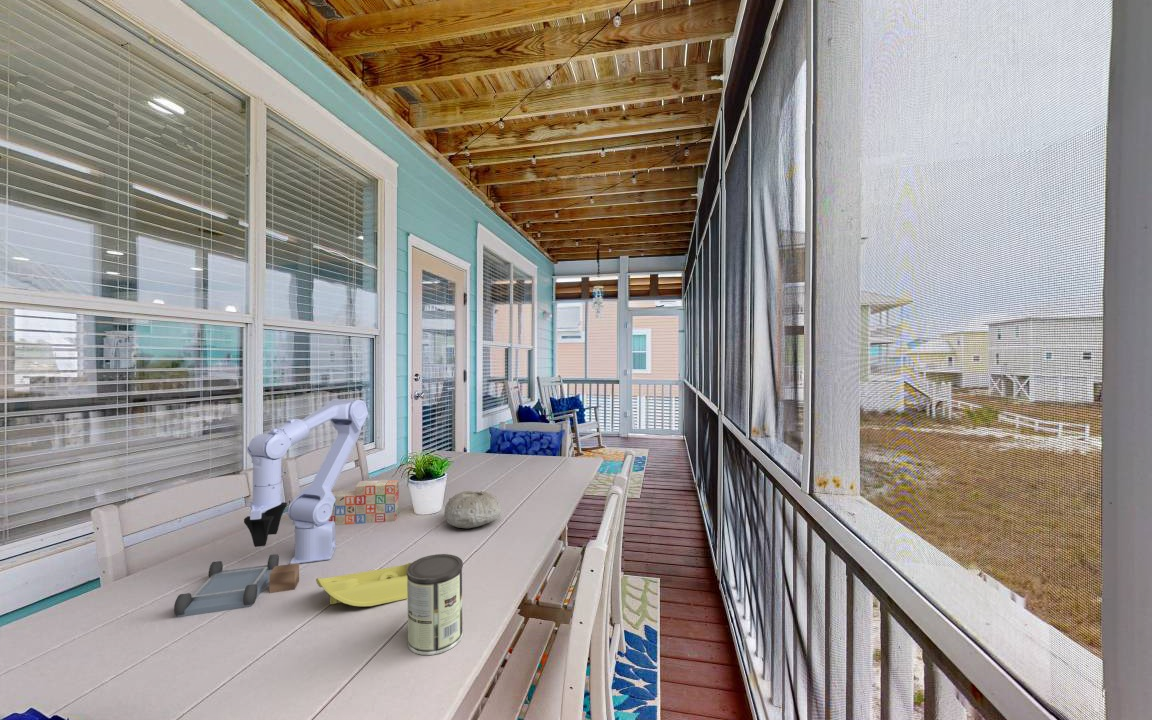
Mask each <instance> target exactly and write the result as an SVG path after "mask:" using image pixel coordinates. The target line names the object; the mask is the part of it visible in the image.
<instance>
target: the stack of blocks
mask: <svg viewBox="0 0 1152 720" xmlns="http://www.w3.org/2000/svg"><path fill="white" fill-rule="evenodd" d="M399 481H400V480H399V479H390V480H389V479H379V480H362V481H361V480H360V481H359V482H358V483H357V484H356V485H355V487H354V488H355V490H337V491H336V490H335V491H333V490H332V491H331V492H332V493H333V495H334V497H335V499H336V501H335V503H334V505H333V511H332V514H331V517H330V518H329V520H328V521H334V522H335V526H338V525H357V524H370V523H371V524H372V523H389V522H396V520H397V518H398V516H399V497H400V493H399V492H400V491H399V490H400V488H399V483H400V482H399Z"/></svg>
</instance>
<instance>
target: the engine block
mask: <svg viewBox="0 0 1152 720" xmlns="http://www.w3.org/2000/svg"><path fill="white" fill-rule="evenodd" d="M299 582H300V563H296V564H290V563H289V564H280V565H278V566H275V567H274V568H273V570H272V571H271V572H270V574H269V581H268V583H269V594H272V593H273V594H274V593H280V592H288V591H294V590H296V589H297V586H298V584H299Z"/></svg>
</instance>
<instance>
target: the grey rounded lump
mask: <svg viewBox="0 0 1152 720" xmlns="http://www.w3.org/2000/svg"><path fill="white" fill-rule="evenodd" d="M501 514H502V507H501V503H500V501H499V499H498V497H497V496H495V495H494V494H492V493H489V492H488V491H482V490H481V491H473V490H472V491H471V490H467V491H466V490H465V491H463V492H459V493H457V494H456V493H455V494H454V495H453V496H452V497H450V498H449V499H448V501H447V502H446V503H445V508H444V514H443V515H444V518H445V519H444V520H446V523H448V524H449V525H451V526H453V527H456V528H458V529H460V528H462V529H471V528H472V529H473V528H477V527H481V526H484V525H486V524H489V523H492V522H495V521H496V520H497V519H498V518H499V516H500V515H501Z"/></svg>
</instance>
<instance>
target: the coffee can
mask: <svg viewBox="0 0 1152 720" xmlns="http://www.w3.org/2000/svg"><path fill="white" fill-rule="evenodd" d="M412 562H413V563H412ZM412 562H410V563H411V564H410V565H409V566H408V568H407V592H408V598H407V647H408V649H409V650H410V652H412V653H414V654H417V655H421V656H434V655H438V654H439V655H440V654H442V653H445V652H447V651H449V650H451V649H453V648H454V647H456V646H457V645H458V644H459V643H460V641H462V639H463V635H464V631H463V566H464V563H463V560H462V559H461V557H458V556H457V555H454V554H448V553H439V554H431V555H426V556H423V557H420V558H418V559H415V561H414V560H413V561H412Z"/></svg>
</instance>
